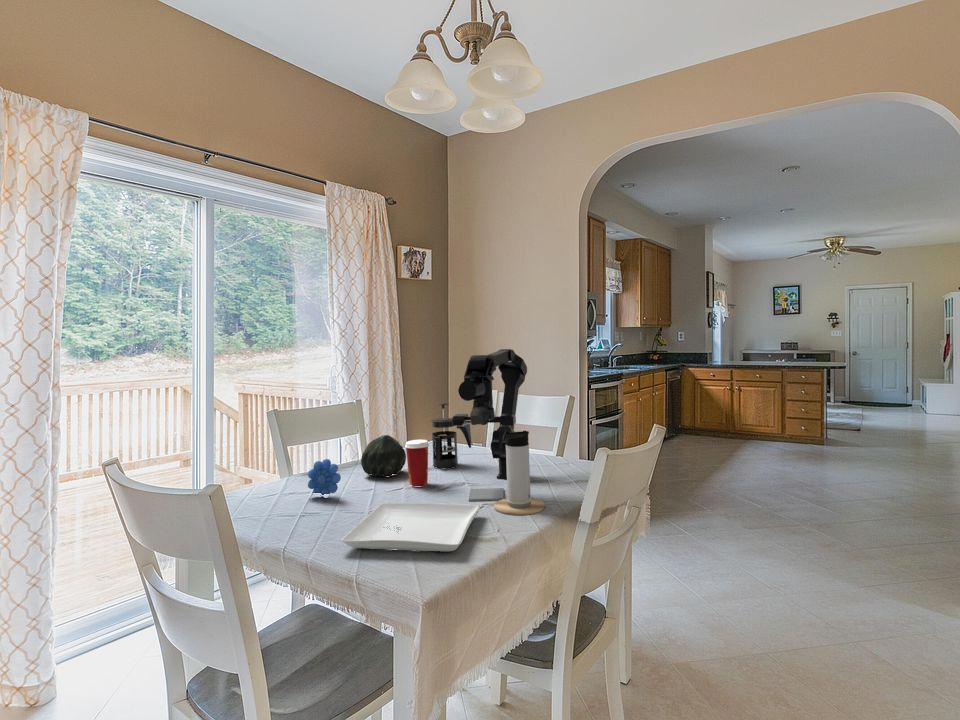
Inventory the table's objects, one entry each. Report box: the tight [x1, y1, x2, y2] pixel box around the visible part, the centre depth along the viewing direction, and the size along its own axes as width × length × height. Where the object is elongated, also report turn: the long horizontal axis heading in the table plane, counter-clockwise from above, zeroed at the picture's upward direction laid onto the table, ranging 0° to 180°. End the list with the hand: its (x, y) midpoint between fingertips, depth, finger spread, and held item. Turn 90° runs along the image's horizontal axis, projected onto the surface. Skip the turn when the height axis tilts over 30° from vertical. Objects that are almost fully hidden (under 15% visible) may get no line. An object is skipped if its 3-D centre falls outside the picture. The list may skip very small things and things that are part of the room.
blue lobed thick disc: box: [307, 458, 342, 495], centre depth 160 cm, size 12×7×12 cm, turn 69°
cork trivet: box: [493, 497, 546, 516], centre depth 145 cm, size 14×14×1 cm
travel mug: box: [506, 430, 532, 508], centre depth 145 cm, size 6×7×20 cm
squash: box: [360, 434, 407, 477], centre depth 184 cm, size 14×15×15 cm
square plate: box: [340, 502, 481, 552], centre depth 128 cm, size 27×27×4 cm
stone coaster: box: [468, 487, 505, 502], centre depth 156 cm, size 10×10×1 cm
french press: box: [431, 402, 459, 469], centre depth 193 cm, size 12×9×23 cm
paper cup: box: [404, 439, 430, 487], centre depth 170 cm, size 8×8×14 cm
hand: (484, 447), depth 161 cm, fingers open, 9 cm apart
